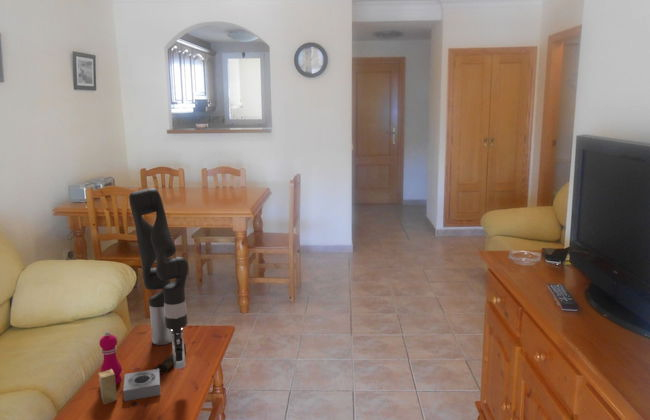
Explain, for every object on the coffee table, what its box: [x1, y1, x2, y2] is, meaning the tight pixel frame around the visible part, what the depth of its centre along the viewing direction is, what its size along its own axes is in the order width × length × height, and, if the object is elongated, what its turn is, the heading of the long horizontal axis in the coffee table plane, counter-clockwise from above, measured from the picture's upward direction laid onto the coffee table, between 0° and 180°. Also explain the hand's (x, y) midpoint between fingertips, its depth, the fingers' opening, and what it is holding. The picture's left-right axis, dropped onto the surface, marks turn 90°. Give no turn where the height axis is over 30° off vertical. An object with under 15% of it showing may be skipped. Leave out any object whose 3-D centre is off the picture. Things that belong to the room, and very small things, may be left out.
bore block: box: [122, 368, 161, 402], centre depth 182 cm, size 12×12×4 cm
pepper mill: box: [99, 331, 123, 385], centre depth 185 cm, size 7×7×20 cm
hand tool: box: [157, 342, 187, 374], centre depth 201 cm, size 19×4×5 cm, turn 165°
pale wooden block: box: [98, 369, 118, 405], centre depth 175 cm, size 4×4×10 cm
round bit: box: [171, 338, 186, 370], centre depth 180 cm, size 4×4×10 cm
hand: (179, 357), depth 180 cm, fingers closed on round bit, 4 cm apart
